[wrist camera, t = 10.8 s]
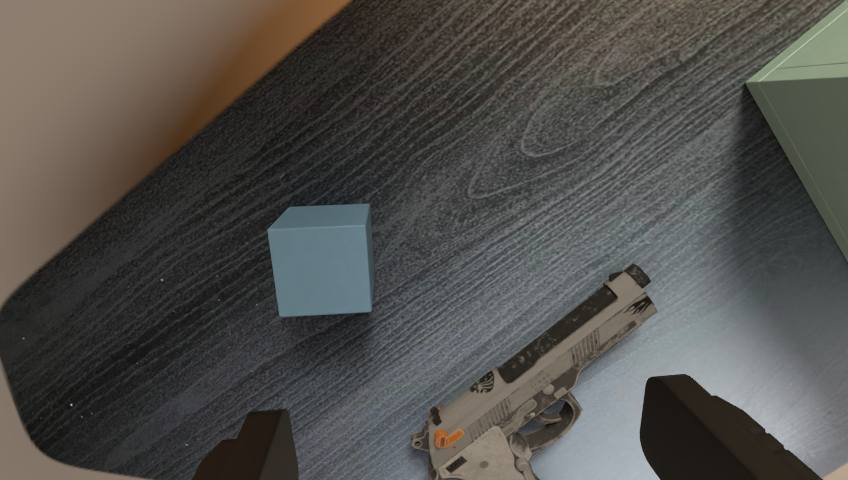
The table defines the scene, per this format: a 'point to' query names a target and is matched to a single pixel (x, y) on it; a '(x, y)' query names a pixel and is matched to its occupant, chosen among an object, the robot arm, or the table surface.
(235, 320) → the table surface
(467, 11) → the table surface
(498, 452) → the handgun
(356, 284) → the blue-grey cube
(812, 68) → the green open box
